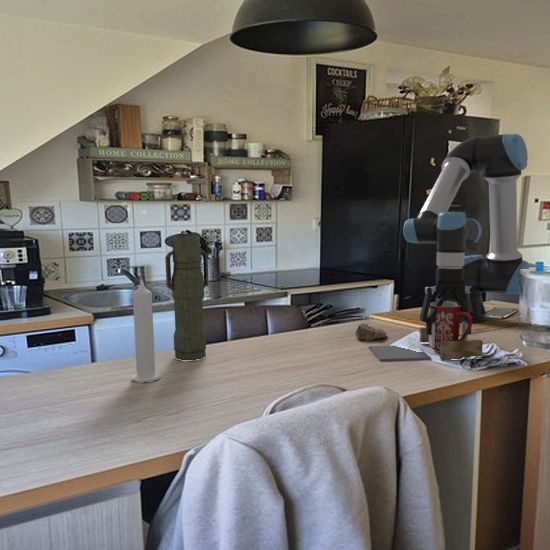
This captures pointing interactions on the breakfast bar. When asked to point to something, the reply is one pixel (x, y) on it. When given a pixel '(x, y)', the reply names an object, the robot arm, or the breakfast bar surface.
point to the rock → (369, 333)
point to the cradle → (455, 347)
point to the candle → (144, 336)
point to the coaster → (397, 353)
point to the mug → (449, 323)
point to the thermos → (188, 295)
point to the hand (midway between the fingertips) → (448, 345)
